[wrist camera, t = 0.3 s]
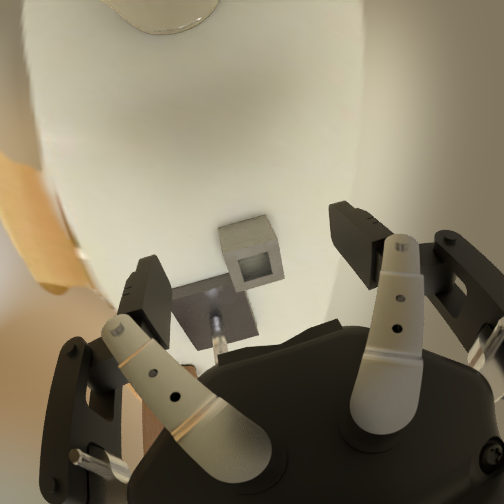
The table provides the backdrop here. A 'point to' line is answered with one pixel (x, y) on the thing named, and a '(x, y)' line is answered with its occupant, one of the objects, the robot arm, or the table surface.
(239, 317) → the shaft block
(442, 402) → the robot arm
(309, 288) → the table surface
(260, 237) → the collar
